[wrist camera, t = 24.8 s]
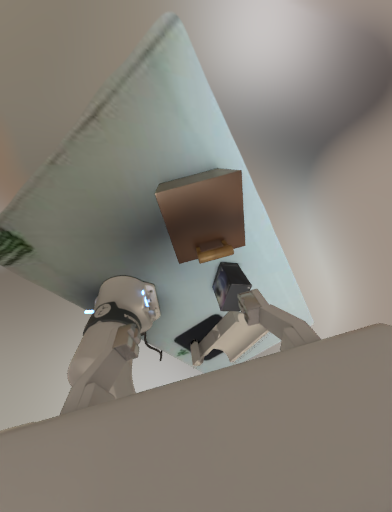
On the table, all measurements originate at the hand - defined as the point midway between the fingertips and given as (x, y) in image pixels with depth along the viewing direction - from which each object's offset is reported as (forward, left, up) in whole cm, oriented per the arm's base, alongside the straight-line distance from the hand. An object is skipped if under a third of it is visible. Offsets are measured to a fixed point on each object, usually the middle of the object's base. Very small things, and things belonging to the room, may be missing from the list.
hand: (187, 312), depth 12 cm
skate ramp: (-57, -7, -31) cm, 65 cm away
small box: (-25, -10, -31) cm, 41 cm away
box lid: (0, -5, -18) cm, 19 cm away
